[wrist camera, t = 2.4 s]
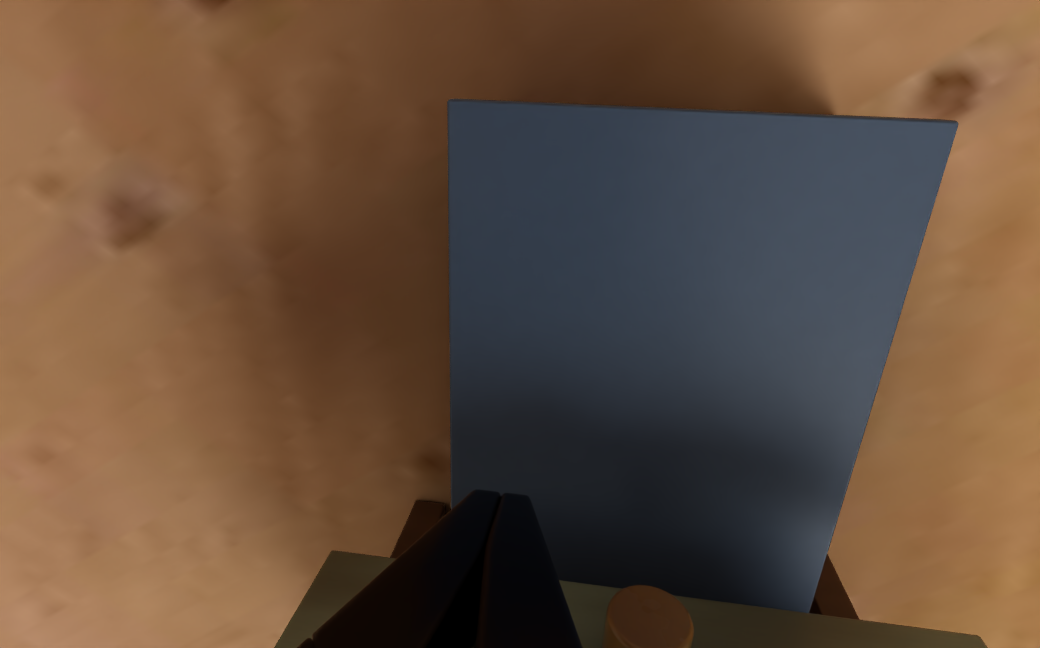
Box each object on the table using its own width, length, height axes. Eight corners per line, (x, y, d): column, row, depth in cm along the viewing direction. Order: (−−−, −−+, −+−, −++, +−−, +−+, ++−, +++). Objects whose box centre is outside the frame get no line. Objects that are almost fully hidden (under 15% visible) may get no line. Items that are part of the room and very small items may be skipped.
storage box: (847, 111, 13) (961, 121, 9) (748, 533, 18) (792, 668, 14) (493, 96, 14) (446, 98, 10) (485, 501, 19) (451, 619, 15)
